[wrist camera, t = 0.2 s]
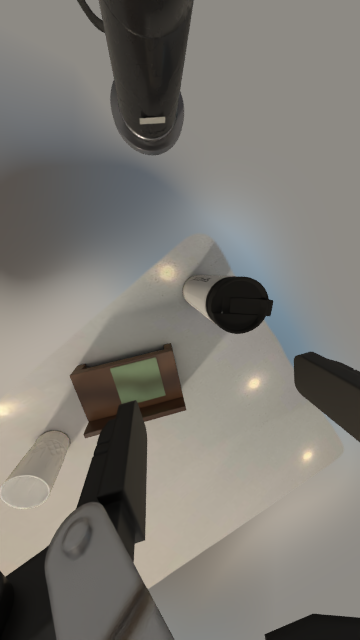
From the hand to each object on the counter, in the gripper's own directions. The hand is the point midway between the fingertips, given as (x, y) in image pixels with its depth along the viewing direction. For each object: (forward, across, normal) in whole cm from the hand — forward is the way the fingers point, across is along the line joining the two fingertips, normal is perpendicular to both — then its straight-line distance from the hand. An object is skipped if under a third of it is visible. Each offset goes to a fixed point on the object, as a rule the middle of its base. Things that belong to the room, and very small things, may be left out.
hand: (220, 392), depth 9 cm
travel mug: (+30, -7, -1) cm, 31 cm away
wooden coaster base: (+30, +11, +15) cm, 35 cm away
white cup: (+30, +32, +26) cm, 51 cm away
